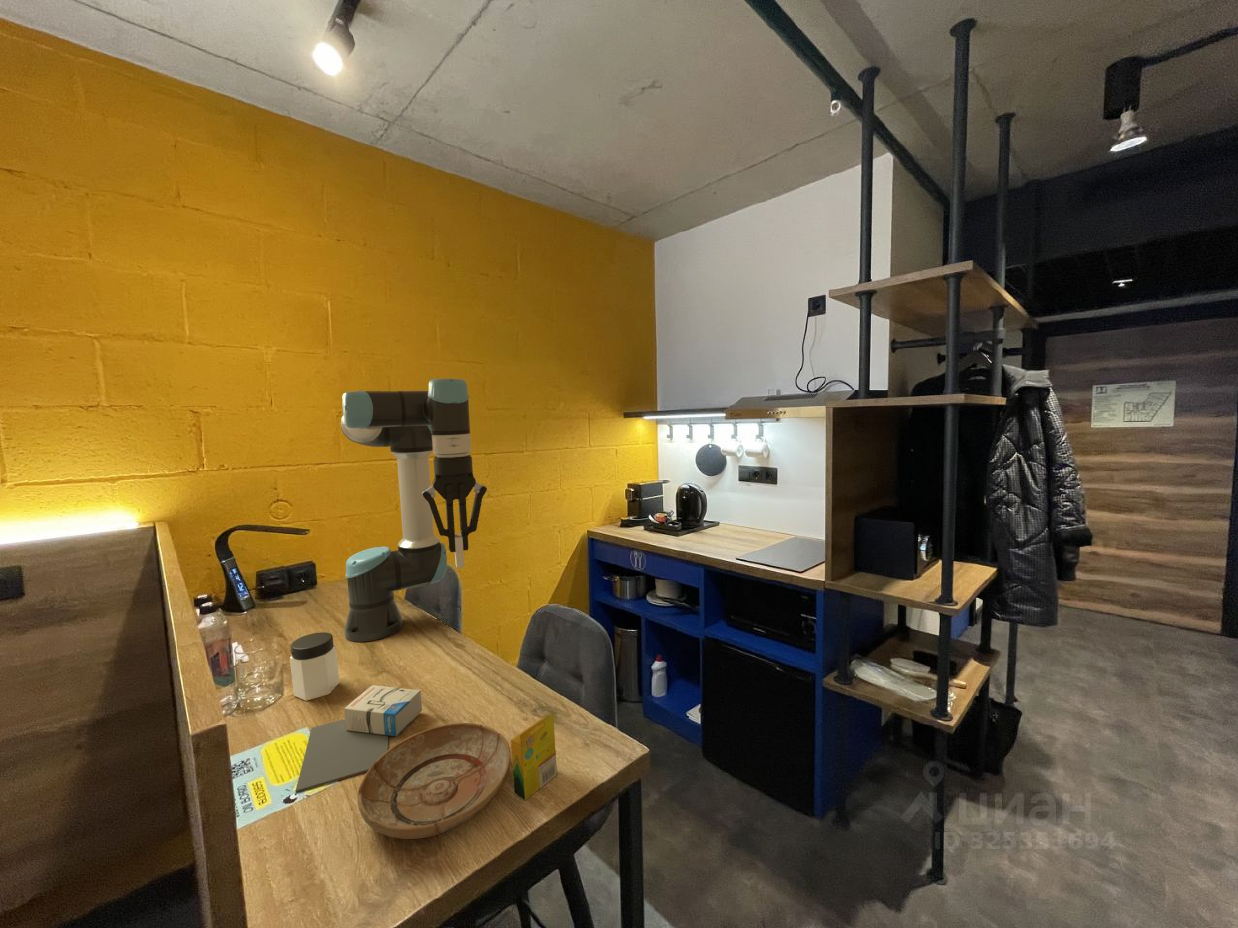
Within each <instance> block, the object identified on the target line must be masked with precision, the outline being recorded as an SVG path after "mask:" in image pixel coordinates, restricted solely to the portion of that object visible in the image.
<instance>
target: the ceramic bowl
mask: <svg viewBox="0 0 1238 928" xmlns="http://www.w3.org/2000/svg"><path fill="white" fill-rule="evenodd" d="M510 747H511V746H510V744H509V742H508V740H507V739H506V737H504V735H502V734H501V733H499V732H498V730H495V729H494V728H492V727H489V726H486V725H484V724H480V723H470V722H457V723H456V722H455V723H449V724H442V725H438V726H433V727H431V728H428V729H425V730H422V731H420V732H417V733H415V734H412V735H411V736H408V737H407V738H404V739H402V740H401V741H399V742H398V743H397V744H394V745H393V746H392V747H390V748H388V751H386V752H385V753H384V754H383V755H382V756H381V757H380V758H379V759H378V760H377V761H376V762H375V763H374V764H373V765H372V766H371V767H370V769H369V770H368V772H365V774H364V776H363V778H362V781H361V783H360V785H359V787H358V792H357V804H358V806H357V807H358V810H359V813H360V815H361V817H362V819H363V820H364V822H365V823H366V824H367V825H368V826H369V827H370V828H371V829H373V830H375V831H376V832H377V833H380V834H382V835H385V836H387V837H390V838H394V839H403V840H407V839H408V840H413V839H423V838H425V839H426V838H429V837H434V836H437V835H442V834H443V833H445V832H449V831H451V830H453V829H456V828H457V827H460V826H462V825H463V824H465V823H467V822H469V821H470V820H471V819H473V818H474V817H477V816H478V815H479V814H480V813H481V812H483V811H484V810H485V809H487V807H488V806H489V805H490V804H491V803H492V802H493V801H494V800H495V799H496V797H497V796H498V795H499V793H500V792H501V790H502V789H503V787H504V785H505V784H506V781H507V779H508V776H509V774H510V773H509V772H510V768H511V761H512V760H511V759H512V753H511V748H510Z"/></svg>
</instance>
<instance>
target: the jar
mask: <svg viewBox="0 0 1238 928" xmlns="http://www.w3.org/2000/svg"><path fill="white" fill-rule="evenodd" d="M333 637H334V635H333V634H332V633H330V632H326V631H325V632H323V631H321V632H320V631H319V632H314V633H309V634H306V635H303V636H301V637H299V638H297V639H295V640H293V641H292V642H291V645H290V653H291V656H289V664H290V665H289V666H290V672H291V681H292V690H293V696H294V697H296V698H299V699H301V700H302V701H303V700H304V701H305V702H307V701H311V700H314V699H317V698H321V697H324V696H327V695H329V694H331V693H332V691H333V690H334V689H335V688H336V687H337V686H338V685H339V684H340V677H339V676H340V675H339V665H338V664H339V663H338V655H337V646H336V645H335V644H334V638H333Z"/></svg>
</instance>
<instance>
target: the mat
mask: <svg viewBox="0 0 1238 928" xmlns="http://www.w3.org/2000/svg"><path fill="white" fill-rule="evenodd" d="M388 750H389V735H383V734H374V733H366V732H358V731H350V730H346V725H345V718H343V719H341V720H337V721H333V722H328V723H324V724H320V725H316V726H313V727H311V729H310V732H309V737H308V741H307V744H306V748H305V752H304V756H303V761H302V765H301V766H300V767H301V768H300V771H299V772H300V773H299V776H298V779H297V784H296V788H295V794H296V793H300V792H302V791H303V792H304V791H307V790H310V789H313V788H317V787H320V786H323V785H327V784H330V783H333V782H338V781H341V780H344V779H347V778H351V777H354V776H357V775H361V774H363V773H365V774H366V773H367V772H368V770H369V769H370V767H371V766H372V765H373V764H374V763H375V762H376V761H377V760H378V759H379V758H380V757H381V756H382V755H383V754H384V753H385V752H386V751H388Z"/></svg>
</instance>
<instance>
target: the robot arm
mask: <svg viewBox="0 0 1238 928" xmlns="http://www.w3.org/2000/svg"><path fill="white" fill-rule="evenodd" d="M469 399H470V394H469V390H468V384H467V382H466V380H465V379H462V378H436V379H435V378H433V379H431V380H429V382H428V390H390V391H387V390H384V391H383V390H362V389H361V390H355V391H354V390H353V391H345V392H344V393H343V394H342V401H341V403H342V414H343V415H342V417H341V420H340V429H341V432H342V434H343V435H344V437H346V438H347V439H348V440H349V441H350V442H352V443H354V444H358V445H361V446H367V447H371V448H385V447H387V448H390V454H392V455H393V456H394V457H395V458H396V461H397V462H396V463H397V474H398V475H397V477H398V488H399V501H400V502H399V504H400V515H401V528H402V538H401V539H400V540H399V542H398V543H397V550H391V549H390V547H388V546H376V547H375V546H374V547H370V548H367V549H364V550H360V551H359V552H357V553H354V554H352V555H350V557H349V558H347V560H346V562H345V578H346V583H347V584H346V585H347V593H348V594H347V596H348V597H347V598H348V606H349V608H348V613H347V617H346V621H345V625H344V637H345V639H347V641H351V642H371V641H375V640H380V639H384V638H386V637H389V636H391V635H393V634H395V633H397V632H398V631H399V630H401V628H403V625H404V623H403V622H404V621H403V616H402V613H401V611H400V609H399V607H398V605H397V603H396V601H395V594H394V593H395V592H397V591H401V590H407V589H411V588H412V589H413V588H417V587H422V586H423V587H424V586H430V585H432V584H435V583H440V582H441V581H443V579H444V577H445V575H446V572H447V566H448V565H447V564H448V562H447V561H448V557H447V548H446V545H445V544H444V543H443V542H441V541H440V538H439V537H438V536H436V535H435V532H434V523H435V525H436V528H437V531H438V534H439V535H440V536H442V537H447V539H448V542H447V543H448V550H449V551H450V553H454V561H455V566H456V569H461V568H462V569H463V568H465V557H464V555H465V554H464V551H468V550H469V535H470V534H472V533H474V532H476V531H477V528H478V525H479V524H478V523H479V517H480V513H481V507H482V501H483V497H484V495H486V492H488V491H487V490H488V488H487V487H486V486H485V485H484V484H480V483H478V482H477V480H476V477H474V473H473V456H472V455H470V453H471V452H472V442H471V441H472V440H471V424H470V423H471V422H470V421H471V420H470V405H469V402H470V401H469ZM431 454H434V455H435V457H434V458H433V472H434V474H433V475H434V478H433V481H432V485H431V471H430V470H431V469H430V455H431ZM473 489H474V490H473ZM472 490H473V492H474V493H475V494H474V497H473V503H472V509H471V515H470V520H469V525H468V515H467V514H468V513H467V497H468V496H469V494H471V492H472ZM435 492H437V493H438V494H439V495H440V497H441V498H442V499H443V500H445V501H444V502H445V513H446V514H445V515H446V527H447V528H445V526H444V524H443V520H442V518H441V516H440V515H441V514H440V511H439V509H438V506H437V503H436V501H435V498H436V493H435ZM455 500H457V501H458V502H457V503H458V513H459V516H458V517H459V527H460V528H459V529H460V533H458V534H456V530H455V517H454V514H455V513H454V501H455Z"/></svg>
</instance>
